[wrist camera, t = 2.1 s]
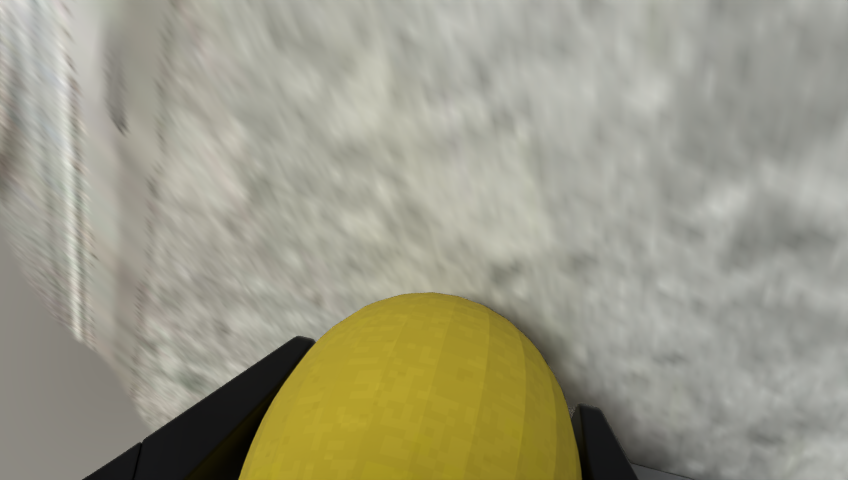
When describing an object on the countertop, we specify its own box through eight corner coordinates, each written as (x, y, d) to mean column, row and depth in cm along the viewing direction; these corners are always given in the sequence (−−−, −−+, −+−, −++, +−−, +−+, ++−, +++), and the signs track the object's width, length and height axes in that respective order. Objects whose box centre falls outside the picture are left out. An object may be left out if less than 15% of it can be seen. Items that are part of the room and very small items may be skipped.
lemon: (473, 417, 13) (392, 881, 7) (315, 310, 12) (45, 725, 6) (629, 324, 10) (760, 1022, 4) (432, 170, 9) (131, 733, 3)
